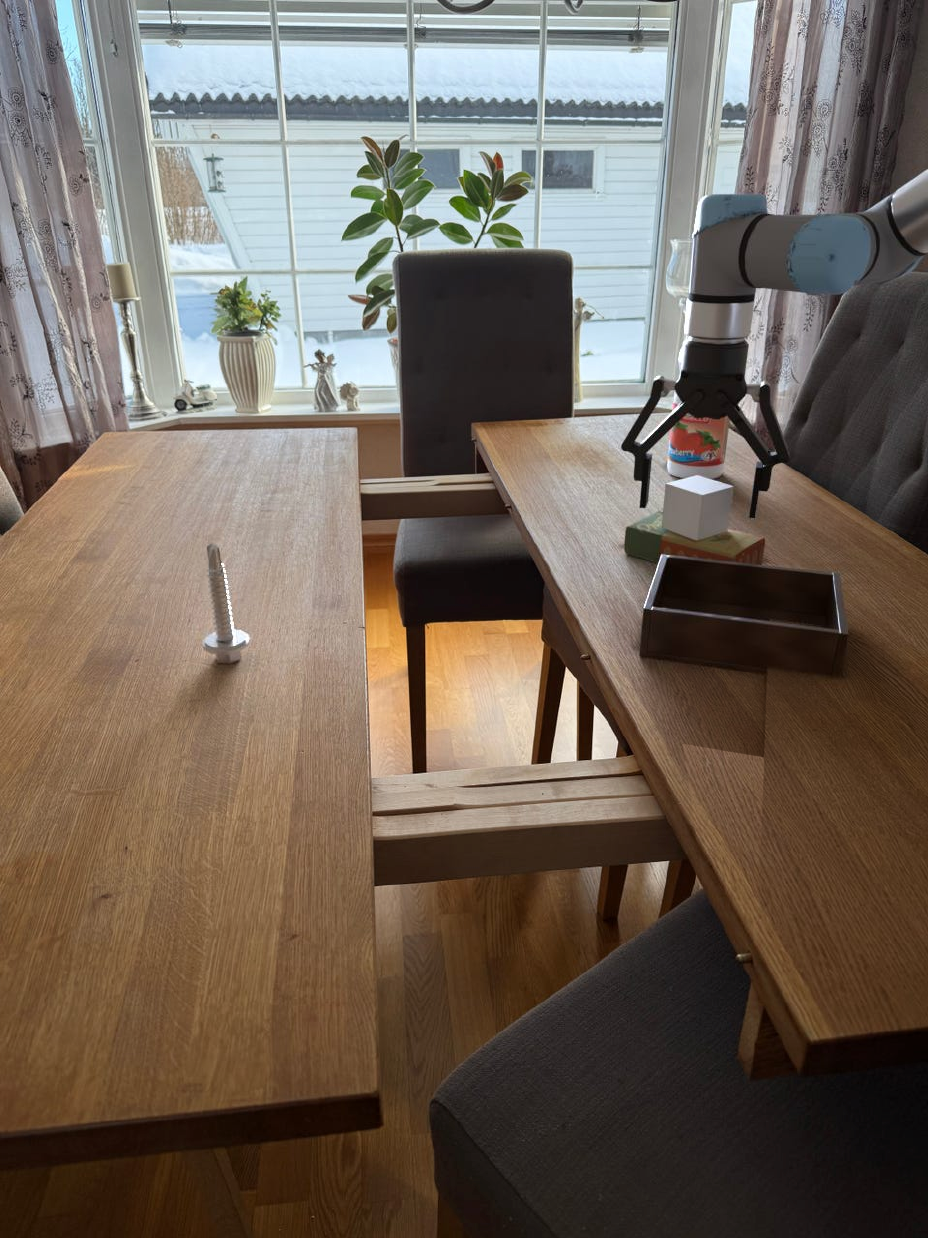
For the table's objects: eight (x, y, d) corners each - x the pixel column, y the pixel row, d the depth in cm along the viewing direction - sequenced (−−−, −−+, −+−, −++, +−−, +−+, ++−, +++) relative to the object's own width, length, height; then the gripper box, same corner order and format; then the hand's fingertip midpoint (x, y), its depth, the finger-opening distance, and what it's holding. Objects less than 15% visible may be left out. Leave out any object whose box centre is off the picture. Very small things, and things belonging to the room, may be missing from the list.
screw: (242, 670, 91) (197, 668, 91) (258, 648, 95) (215, 646, 96) (226, 553, 85) (178, 551, 86) (244, 535, 89) (198, 533, 90)
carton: (731, 586, 109) (735, 554, 107) (621, 553, 119) (624, 523, 117) (762, 566, 114) (767, 535, 112) (655, 536, 124) (658, 507, 122)
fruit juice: (733, 473, 151) (756, 300, 139) (702, 484, 146) (723, 305, 133) (687, 462, 158) (705, 295, 145) (655, 472, 152) (671, 300, 140)
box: (831, 618, 101) (840, 573, 98) (838, 684, 87) (848, 634, 85) (657, 597, 106) (661, 553, 104) (639, 656, 93) (643, 608, 90)
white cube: (696, 541, 111) (702, 495, 108) (661, 527, 115) (665, 483, 113) (728, 530, 114) (734, 485, 111) (692, 518, 119) (697, 474, 116)
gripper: (827, 337, 104) (799, 509, 113) (616, 329, 111) (605, 492, 120) (830, 347, 98) (800, 529, 107) (605, 338, 105) (595, 509, 114)
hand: (697, 510), depth 114 cm, fingers open, 13 cm apart
